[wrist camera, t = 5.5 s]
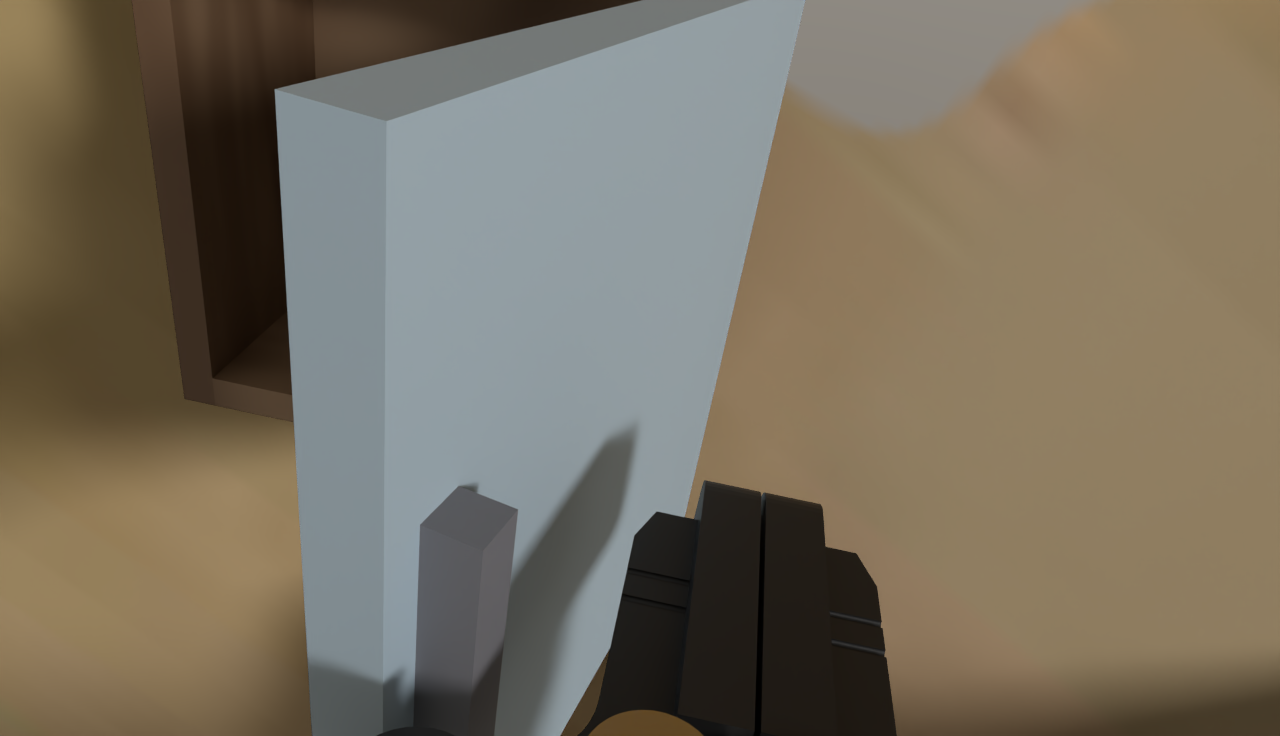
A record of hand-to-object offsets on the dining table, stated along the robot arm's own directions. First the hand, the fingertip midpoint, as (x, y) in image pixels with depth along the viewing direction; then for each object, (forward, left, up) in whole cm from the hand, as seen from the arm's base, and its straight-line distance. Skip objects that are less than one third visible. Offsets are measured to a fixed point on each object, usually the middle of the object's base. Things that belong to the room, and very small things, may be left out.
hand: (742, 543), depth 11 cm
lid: (+3, 0, -2) cm, 3 cm away
